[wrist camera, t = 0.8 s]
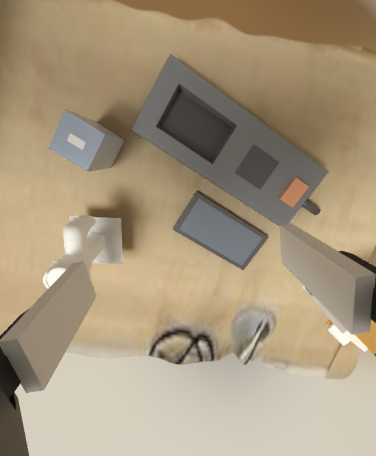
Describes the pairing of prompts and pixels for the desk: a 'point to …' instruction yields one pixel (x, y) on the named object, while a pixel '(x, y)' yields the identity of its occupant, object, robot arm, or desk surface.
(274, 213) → the power strip
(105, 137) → the brick
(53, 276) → the figurine
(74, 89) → the desk surface
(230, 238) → the phone
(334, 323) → the character figure
